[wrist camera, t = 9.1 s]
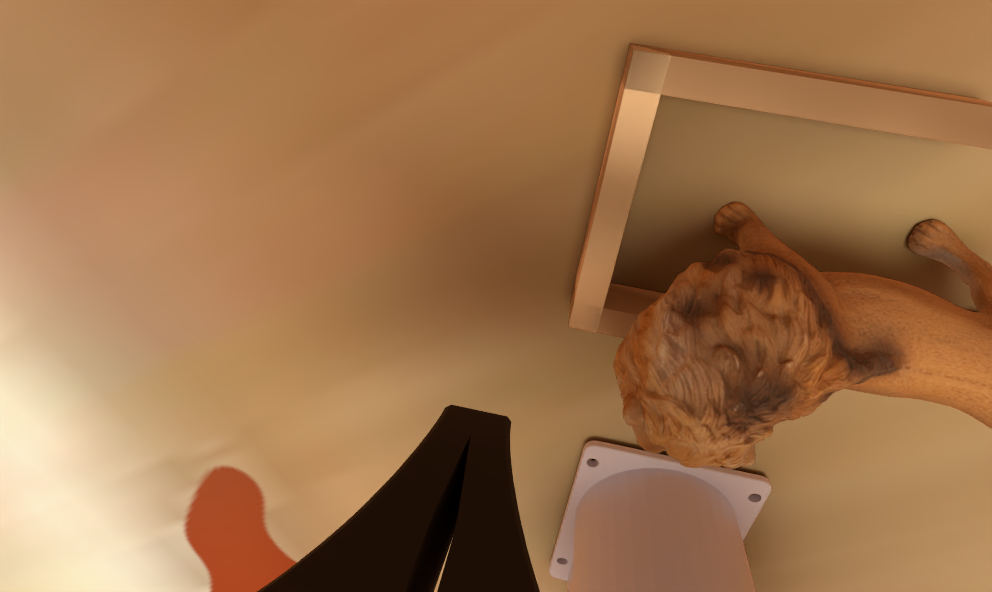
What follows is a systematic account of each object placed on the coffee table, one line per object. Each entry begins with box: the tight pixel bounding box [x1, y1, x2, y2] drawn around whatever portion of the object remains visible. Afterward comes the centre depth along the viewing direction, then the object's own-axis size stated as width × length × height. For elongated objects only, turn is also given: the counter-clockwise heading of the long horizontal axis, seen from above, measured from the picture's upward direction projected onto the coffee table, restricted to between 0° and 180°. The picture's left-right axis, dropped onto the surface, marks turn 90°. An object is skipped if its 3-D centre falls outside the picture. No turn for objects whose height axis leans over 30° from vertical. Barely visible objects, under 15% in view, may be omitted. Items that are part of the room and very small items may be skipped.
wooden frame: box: [568, 44, 992, 338], centre depth 18 cm, size 9×10×2 cm
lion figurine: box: [613, 202, 992, 469], centre depth 15 cm, size 15×5×9 cm, turn 94°
